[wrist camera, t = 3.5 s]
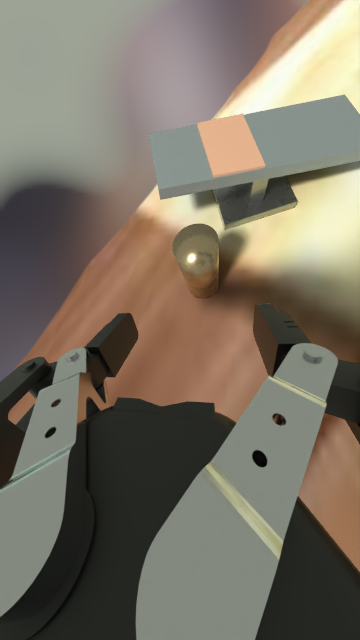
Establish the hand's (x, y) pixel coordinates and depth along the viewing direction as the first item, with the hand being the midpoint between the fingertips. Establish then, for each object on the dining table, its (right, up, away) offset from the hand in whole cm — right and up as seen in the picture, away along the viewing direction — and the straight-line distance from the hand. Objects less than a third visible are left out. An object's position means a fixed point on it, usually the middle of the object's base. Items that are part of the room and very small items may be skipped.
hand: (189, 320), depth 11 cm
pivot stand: (+10, +21, +15) cm, 28 cm away
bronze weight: (+3, +5, +13) cm, 15 cm away
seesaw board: (+9, +22, +10) cm, 26 cm away
